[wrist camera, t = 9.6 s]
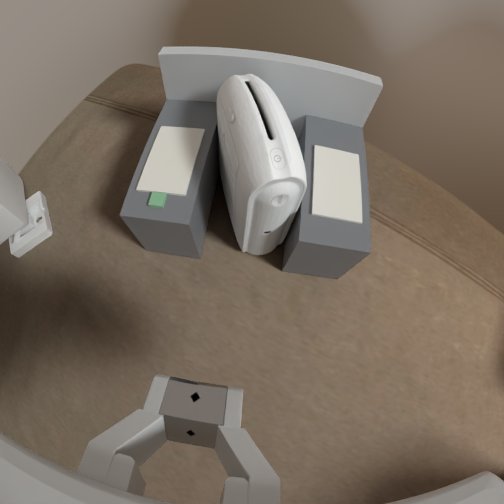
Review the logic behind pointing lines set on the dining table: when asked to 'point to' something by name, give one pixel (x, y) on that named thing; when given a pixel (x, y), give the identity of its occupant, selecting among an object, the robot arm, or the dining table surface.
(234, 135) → the photo printer
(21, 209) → the security camera
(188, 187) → the module bay
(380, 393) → the dining table surface
